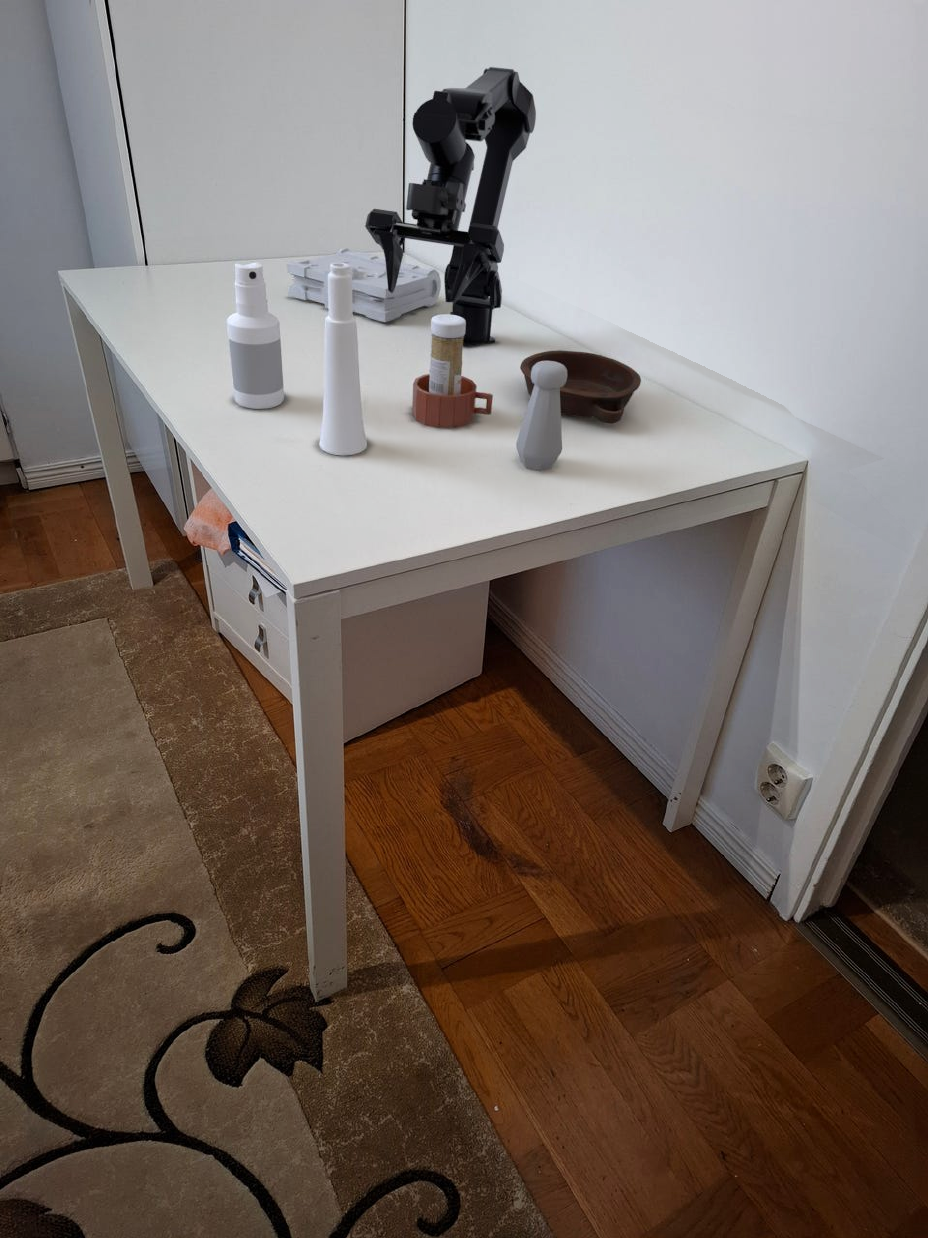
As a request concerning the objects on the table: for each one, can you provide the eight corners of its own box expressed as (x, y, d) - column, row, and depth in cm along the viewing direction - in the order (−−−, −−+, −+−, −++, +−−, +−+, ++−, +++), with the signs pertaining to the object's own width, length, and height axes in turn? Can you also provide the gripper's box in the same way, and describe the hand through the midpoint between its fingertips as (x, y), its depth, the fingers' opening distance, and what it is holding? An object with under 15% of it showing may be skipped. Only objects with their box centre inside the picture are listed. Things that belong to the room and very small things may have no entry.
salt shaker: (511, 452, 107) (523, 354, 100) (554, 454, 108) (569, 356, 100) (517, 473, 103) (530, 371, 95) (562, 474, 103) (578, 373, 96)
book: (330, 275, 170) (329, 235, 165) (443, 304, 159) (445, 262, 154) (265, 293, 156) (261, 250, 152) (383, 326, 145) (384, 281, 140)
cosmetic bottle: (371, 454, 104) (371, 271, 91) (323, 457, 103) (316, 272, 89) (362, 434, 109) (361, 257, 96) (316, 437, 107) (308, 257, 94)
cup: (407, 424, 112) (408, 392, 110) (418, 400, 119) (419, 369, 117) (487, 433, 112) (490, 401, 109) (493, 408, 119) (496, 378, 116)
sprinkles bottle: (465, 418, 115) (472, 321, 107) (438, 424, 113) (443, 325, 105) (448, 406, 118) (453, 311, 110) (420, 411, 116) (424, 314, 108)
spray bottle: (241, 412, 112) (228, 273, 101) (228, 394, 116) (214, 259, 106) (290, 406, 114) (282, 270, 104) (276, 388, 119) (267, 256, 108)
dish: (555, 438, 112) (560, 403, 109) (493, 379, 128) (496, 347, 125) (664, 427, 118) (672, 394, 115) (592, 372, 134) (597, 341, 131)
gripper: (365, 143, 107) (338, 261, 108) (502, 160, 104) (474, 283, 104) (390, 187, 118) (366, 295, 119) (515, 205, 115) (489, 315, 115)
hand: (421, 296), depth 114 cm, fingers open, 9 cm apart
